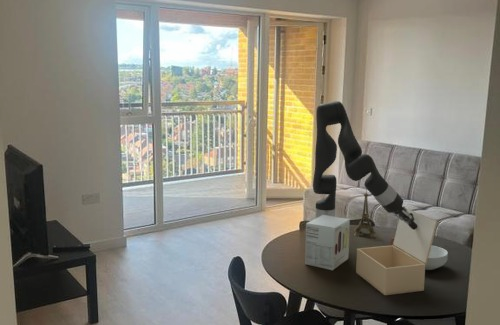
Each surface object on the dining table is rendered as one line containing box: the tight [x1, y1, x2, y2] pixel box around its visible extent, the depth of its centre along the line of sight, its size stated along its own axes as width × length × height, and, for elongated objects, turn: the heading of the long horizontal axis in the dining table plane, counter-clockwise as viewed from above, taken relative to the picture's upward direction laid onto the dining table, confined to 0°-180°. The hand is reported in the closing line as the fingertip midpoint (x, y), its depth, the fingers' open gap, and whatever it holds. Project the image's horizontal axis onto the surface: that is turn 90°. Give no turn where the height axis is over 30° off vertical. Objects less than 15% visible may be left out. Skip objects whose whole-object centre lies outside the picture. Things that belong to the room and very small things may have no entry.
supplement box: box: [304, 215, 351, 271], centre depth 203 cm, size 17×13×18 cm
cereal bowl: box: [405, 245, 449, 271], centre depth 198 cm, size 17×17×7 cm
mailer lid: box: [393, 207, 438, 264], centre depth 183 cm, size 16×22×1 cm
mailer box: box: [355, 245, 426, 296], centre depth 183 cm, size 16×22×10 cm
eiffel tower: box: [353, 187, 376, 238], centre depth 242 cm, size 11×11×25 cm
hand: (414, 227), depth 182 cm, fingers closed
